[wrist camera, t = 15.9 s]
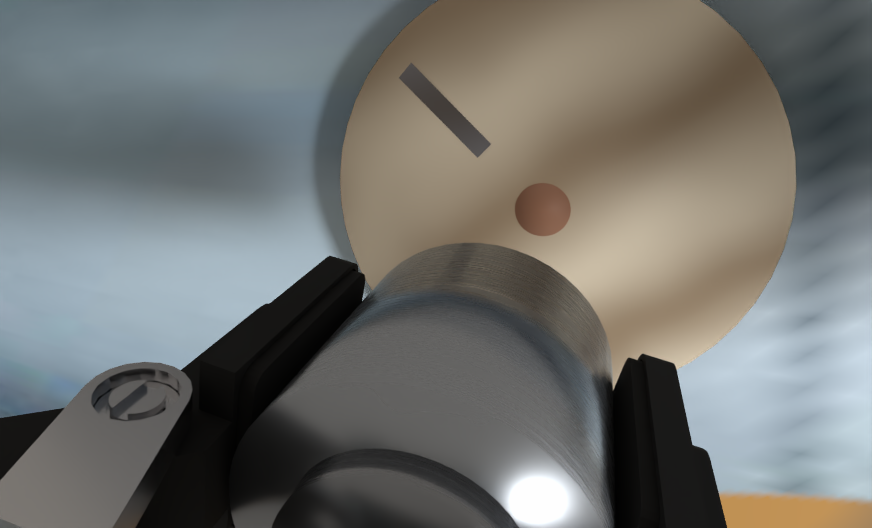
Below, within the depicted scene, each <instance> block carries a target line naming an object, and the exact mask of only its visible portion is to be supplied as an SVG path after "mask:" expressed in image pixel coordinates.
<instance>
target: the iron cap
mask: <svg viewBox="0 0 872 528" xmlns="http://www.w3.org/2000/svg"><path fill="white" fill-rule="evenodd" d="M229 501H230V508H231V514H232V518H233V521H234V525H235V528H616V497H615V455H614V413H613V371H612V358H611V350H610V346H609V342H608V339H607V335H606V332H605V330H604V328H603V326H602V323H601V321H600V319H599V317H598V315H597V314H596V312H595V311H594V309H593V307H592V306H591V304H590V303H589V302H588V300H587V299H586V298H585V297H584V296H583V294H582V293H581V292H580V291H579V290H578V289H577V288H576V287H575V286H574V285H573V284H572V283H571V282H570V281H569V280H568V279H567V278H566V277H564V276H563V275H561V274H560V273H559V272H557V271H556V270H555V269H553V268H552V267H550V266H549V265H547V264H545V263H543V262H541V261H540V260H538V259H536V258H534V257H532V256H529V255H527V254H524V253H522V252H519V251H517V250H514V249H510V248H506V247H502V246H499V245H492V244H484V243H455V244H446V245H442V246H438V247H434V248H430V249H427V250H425V251H422V252H420V253H417V254H415V255H413V256H411V257H409V258H408V259H406V260H404V261H403V262H401V263H400V264H398V265H397V266H396V267H395V268H393V269H392V270H391V271H390V272H389V273H388V274H387V275H386V276H385V277H384V278H383V279H382V280H381V281H380V282H379V284H378V285H377V286H376V287H375V288H374V289H373V290H372V291H371V292H370V294H369V295H368V296H367V297H366V298H365V299H364V300H363V301H362V302H361V304H360V305H359V306H358V307H357V308H356V309H355V310H354V311H353V312H352V314H351V315H350V316H349V317H348V318H347V319H346V320H345V321H344V322H343V324H342V325H341V326H340V327H339V328H338V329H337V330H336V331H335V332H334V334H333V335H332V336H331V337H330V338H329V339H328V340H327V341H326V342H325V344H324V345H323V346H322V347H321V348H320V349H319V350H318V351H317V352H316V354H315V355H314V356H313V357H312V358H311V359H310V360H309V361H308V362H307V364H306V365H305V366H304V367H303V368H302V369H301V370H300V371H299V372H298V374H297V375H296V376H295V377H294V378H293V379H292V380H291V381H290V382H289V383H288V385H287V386H286V387H285V388H284V389H283V390H282V391H281V392H280V393H279V395H278V396H277V397H276V398H275V399H274V400H273V401H272V402H271V403H270V405H269V406H268V407H267V408H266V409H265V410H264V411H263V412H262V413H261V415H260V416H259V417H258V418H257V419H256V420H255V421H254V422H253V423H252V425H251V426H250V427H249V428H248V429H247V431H246V433H245V434H244V436H243V437H242V439H241V441H240V442H239V444H238V447H237V449H236V452H235V454H234V457H233V460H232V464H231V470H230V475H229Z"/></svg>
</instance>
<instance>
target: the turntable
mask: <svg viewBox="0 0 872 528" xmlns="http://www.w3.org/2000/svg"><path fill="white" fill-rule="evenodd" d="M340 187H341V204H342V210H343V215H344V221H345V227H346V231H347V234H348V237H349V241H350V244H351V247H352V251H353V253H354V255H355V258H356V260H357V262H358V265H359V267H360V269H361V272H362V273H363V274H364V275H365V279H366V281H367V283H368V284H369V286H370V288H371V290H373V289H374V288H375V287H376V286H377V285H378V284H379V282H380V281H381V280H382V279H383V278H384V277H385V276H386V275H387V274H388V273H389V272H390V271H391V270H392V269H393V268H395V267H396V266H397V265H398V264H400V263H401V262H403V261H404V260H406V259H408V258H409V257H411V256H413V255H415V254H417V253H420V252H422V251H425V250H427V249H430V248H434V247H438V246H442V245H446V244H455V243H484V244H492V245H499V246H502V247H506V248H510V249H514V250H517V251H519V252H522V253H524V254H527V255H529V256H532V257H534V258H536V259H538V260H540V261H541V262H543V263H545V264H547V265H549V266H550V267H552V268H553V269H555V270H556V271H557V272H559V273H560V274H561V275H563V276H564V277H566V278H567V279H568V280H569V281H570V282H571V283H572V284H573V285H574V286H575V287H576V288H577V289H578V290H579V291H580V292H581V293H582V294H583V296H584V297H585V298H586V299H587V300H588V302H589V303H590V304H591V306H592V307H593V309H594V311H595V312H596V314H597V315H598V317H599V319H600V321H601V323H602V326H603V328H604V330H605V332H606V335H607V339H608V342H609V346H610V350H611V358H612V371H613V390H614V387H615V385H616V383H617V380H618V378H619V375H620V373H621V371H622V368H623V366H624V364H625V361H626V360H627V358H633V359H636V360H638V358H639V356H640V355H641V354H646V355H649V356H652V357H656V358H659V359H662V360H665V361H668V362H672V363H674V364H675V366H676V370H677V369H679V368H681V367H682V366H684V365H686V364H688V363H690V362H692V361H693V360H694V359H696V358H697V357H699V356H700V355H702V354H703V353H704V352H706V351H707V350H709V349H710V348H711V347H713V346H714V345H716V344H717V343H718V342H719V341H720V340H721V339H722V338H723V337H724V336H725V335H726V334H727V333H729V332H730V331H731V330H732V329H733V328H734V327H735V326H736V325H737V324H738V323H739V322H740V320H741V319H742V318H743V317H744V316H745V314H746V313H747V312H748V311H749V310H750V308H751V307H752V306H753V305H754V304H755V302H756V301H757V299H758V298H759V296H760V294H761V293H762V291H763V290H764V288H765V287H766V285H767V283H768V282H769V280H770V279H771V277H772V275H773V272H774V270H775V268H776V266H777V263H778V261H779V259H780V257H781V254H782V252H783V250H784V247H785V243H786V240H787V236H788V233H789V229H790V226H791V222H792V217H793V210H794V202H795V194H796V162H795V151H794V146H793V140H792V135H791V130H790V125H789V121H788V118H787V115H786V113H785V110H784V107H783V104H782V101H781V99H780V96H779V93H778V91H777V89H776V87H775V85H774V83H773V82H772V80H771V78H770V76H769V74H768V73H767V71H766V69H765V67H764V65H763V64H762V62H761V60H760V59H759V58H758V57H757V55H756V54H755V53H754V51H753V50H752V49H751V48H750V46H749V45H748V44H747V42H746V41H745V40H744V39H743V37H742V36H741V35H740V34H739V33H738V32H737V31H736V30H735V29H734V28H733V27H732V26H731V25H730V24H728V23H727V22H726V21H725V20H724V19H723V18H722V17H721V16H720V15H719V14H718V13H717V12H716V11H714V10H713V9H712V8H710V7H709V6H707V5H706V4H704V3H703V2H701V1H700V0H438V1H437V2H435V3H434V4H432V5H431V6H429V7H428V8H426V9H425V10H424V11H423V12H422V13H421V14H419V15H418V16H417V17H416V18H415V19H414V20H412V21H411V22H410V23H409V24H408V25H407V26H406V27H404V29H403V30H402V31H401V32H400V33H399V34H398V35H397V36H396V38H395V39H394V40H393V41H392V42H391V43H390V44H389V45H388V47H387V48H386V49H385V50H384V52H383V53H382V55H381V56H380V58H379V59H378V61H377V62H376V64H375V65H374V66H373V68H372V69H371V71H370V72H369V74H368V76H367V78H366V80H365V82H364V84H363V86H362V88H361V90H360V92H359V94H358V96H357V98H356V101H355V104H354V107H353V110H352V113H351V116H350V118H349V121H348V124H347V129H346V134H345V139H344V144H343V148H342V157H341V171H340Z"/></svg>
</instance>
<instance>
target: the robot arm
mask: <svg viewBox="0 0 872 528" xmlns="http://www.w3.org/2000/svg"><path fill="white" fill-rule="evenodd" d="M364 285H365V275H364V274H363V273H360V272H358V266H357V264H355V263H352V262H348V261H345V260H342V259H339V258H336V257H332V256H329V257H327V258H326V259H324V260H323V261H322V262H321V263H319V264H318V265H317V266H316V267H314V268H313V269H312V270H311V271H310V272H308V273H307V274H306V275H305V276H303V277H302V278H301V279H300V280H298V281H297V282H296V283H295V284H293V285H292V286H291V287H290V288H288V289H287V290H286V291H285V292H284V293H282V294H281V295H280V296H279V297H277V298H276V299H275V300H274V301H272V302H271V303H270V304H265V305H263V306H261V307H260V308H258V309H257V310H256V311H255V312H253V313H252V314H251V315H250V316H248V317H247V318H246V319H245V320H243V321H242V322H241V323H240V324H238V325H237V326H236V327H235V328H233V329H232V330H231V331H229V332H228V333H227V334H226V335H224V336H223V337H222V338H221V339H219V340H218V341H217V342H216V343H214V344H213V345H212V346H211V347H209V348H208V349H207V350H206V351H204V352H203V353H202V354H201V355H199V356H198V357H197V358H196V359H194V360H193V361H192V362H191V363H189V364H188V365H187V366H186V367H184V368H183V369H182V370H179V369H177V368H175V367H173V366H169V365H166V364H162V363H151V362H140V363H132V364H125V365H122V366H119V367H115V368H112V369H109V370H107V371H105V372H103V373H101V374H99V375H97V376H96V377H95V378H93V379H92V380H91V381H90V382H89V383H87V384H86V385H85V386H84V387H83V388H82V389H81V391H80V392H79V393H78V394H77V395H76V396H75V397H74V398H73V400H72V401H71V402H70V403H69V404H68V405H67V406H66V407H65V408H61V409H55V410H49V411H43V412H36V413H30V414H24V415H17V416H11V417H5V418H0V528H235V525H234V521H233V518H232V514H231V508H230V501H229V475H230V470H231V464H232V460H233V457H234V454H235V452H236V449H237V447H238V444H239V442H240V441H241V439H242V437H243V436H244V434H245V433H246V431H247V429H248V428H249V427H250V426H251V425H252V423H253V422H254V421H255V420H256V419H257V418H258V417H259V416H260V415H261V413H262V412H263V411H264V410H265V409H266V408H267V407H268V406H269V405H270V403H271V402H272V401H273V400H274V399H275V398H276V397H277V396H278V395H279V393H280V392H281V391H282V390H283V389H284V388H285V387H286V386H287V385H288V383H289V382H290V381H291V380H292V379H293V378H294V377H295V376H296V375H297V374H298V372H299V371H300V370H301V369H302V368H303V367H304V366H305V365H306V364H307V362H308V361H309V360H310V359H311V358H312V357H313V356H314V355H315V354H316V352H317V351H318V350H319V349H320V348H321V347H322V346H323V345H324V344H325V342H326V341H327V340H328V339H329V338H330V337H331V336H332V335H333V334H334V332H335V331H336V330H337V329H338V328H339V327H340V326H341V325H342V324H343V322H344V321H345V320H346V319H347V318H348V317H349V316H350V315H351V314H352V312H353V311H354V310H355V309H356V308H357V307H358V306H359V305H360V304H361V302H362V297H363V291H364ZM613 413H614V455H615V497H616V528H727V525H726V521H725V518H724V513H723V509H722V505H721V501H720V497H719V493H718V489H717V485H716V481H715V477H714V473H713V469H712V465H711V461H710V457H709V455H708V453H707V451H706V450H704V449H703V448H700V447H697V446H694V445H692V441H691V436H690V432H689V427H688V422H687V417H686V413H685V408H684V403H683V399H682V394H681V389H680V384H679V380H678V375H677V370H676V366H675V364H674V363H672V362H668V361H665V360H662V359H659V358H656V357H652V356H649V355H646V354H641V355H640V356H639V358H638V360H636V359H633V358H627V360H626V361H625V364H624V366H623V368H622V371H621V373H620V375H619V378H618V380H617V383H616V385H615V387H614V390H613Z"/></svg>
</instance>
